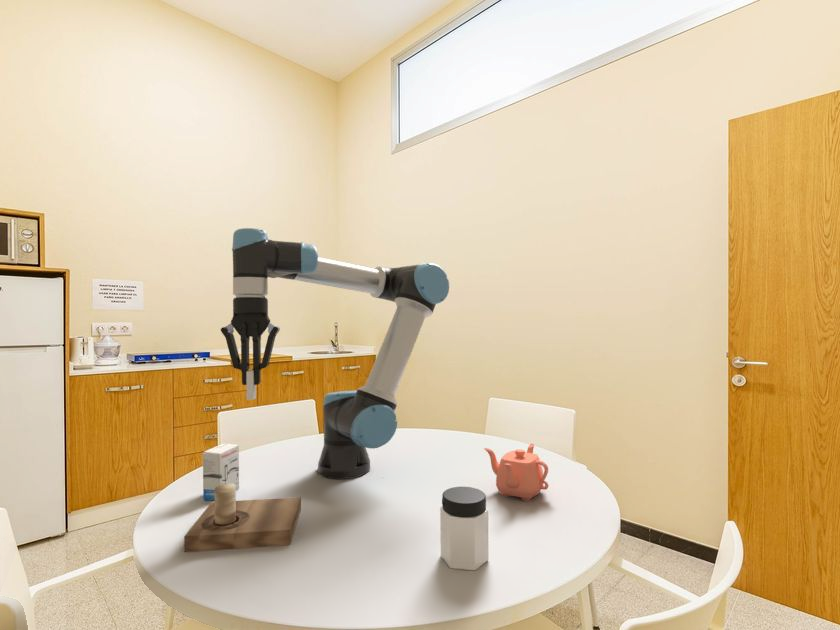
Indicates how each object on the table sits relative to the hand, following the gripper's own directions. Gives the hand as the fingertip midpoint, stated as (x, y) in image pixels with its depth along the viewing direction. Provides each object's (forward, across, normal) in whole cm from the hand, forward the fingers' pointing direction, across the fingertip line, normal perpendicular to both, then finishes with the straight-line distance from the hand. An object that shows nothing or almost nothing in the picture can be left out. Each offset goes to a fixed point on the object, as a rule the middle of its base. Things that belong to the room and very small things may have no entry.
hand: (251, 398), depth 105 cm
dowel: (+26, +3, +10) cm, 28 cm away
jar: (+27, -44, +26) cm, 58 cm away
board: (+26, -1, +8) cm, 28 cm away
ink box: (+27, +10, -13) cm, 31 cm away
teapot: (+27, -64, -3) cm, 69 cm away
